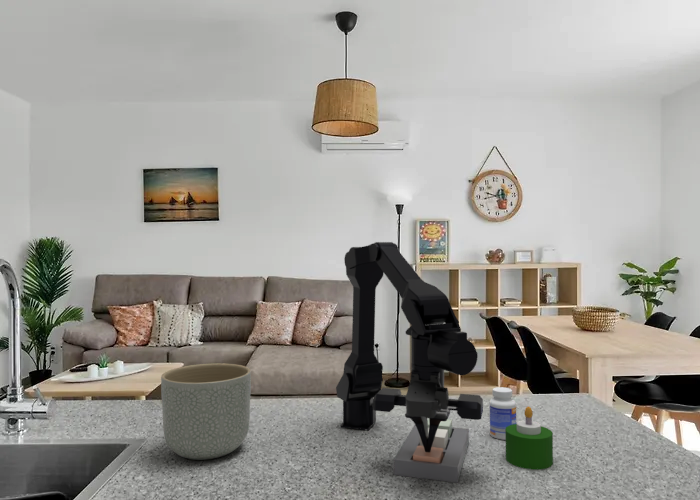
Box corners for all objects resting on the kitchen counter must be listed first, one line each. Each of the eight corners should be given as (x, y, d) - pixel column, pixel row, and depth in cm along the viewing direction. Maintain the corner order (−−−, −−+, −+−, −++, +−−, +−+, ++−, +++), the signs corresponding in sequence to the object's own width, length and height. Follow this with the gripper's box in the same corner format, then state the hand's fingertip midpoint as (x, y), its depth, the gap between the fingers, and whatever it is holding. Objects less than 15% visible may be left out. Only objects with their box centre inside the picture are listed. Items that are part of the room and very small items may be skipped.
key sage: (425, 436, 106) (425, 424, 106) (429, 428, 110) (429, 417, 110) (449, 438, 104) (449, 426, 104) (452, 431, 108) (452, 419, 108)
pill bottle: (517, 441, 109) (517, 393, 109) (490, 439, 110) (490, 392, 110) (515, 432, 114) (514, 386, 114) (488, 430, 115) (488, 385, 115)
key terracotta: (413, 468, 93) (412, 454, 93) (417, 458, 98) (417, 445, 98) (439, 471, 92) (439, 457, 92) (443, 461, 96) (443, 448, 96)
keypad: (393, 474, 93) (393, 459, 93) (415, 436, 112) (415, 423, 112) (457, 482, 90) (457, 467, 90) (468, 441, 109) (468, 428, 109)
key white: (419, 448, 99) (419, 435, 99) (424, 439, 104) (423, 427, 104) (444, 450, 98) (444, 437, 98) (447, 442, 102) (447, 429, 102)
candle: (529, 473, 93) (529, 416, 93) (496, 457, 101) (495, 404, 101) (562, 464, 97) (562, 409, 97) (528, 449, 105) (528, 398, 105)
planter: (266, 440, 110) (265, 366, 110) (220, 473, 94) (220, 386, 94) (196, 431, 116) (195, 361, 116) (142, 461, 100) (141, 379, 100)
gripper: (364, 369, 90) (364, 462, 90) (478, 377, 84) (478, 476, 84) (380, 357, 100) (381, 440, 100) (483, 362, 95) (483, 451, 95)
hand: (428, 451), depth 95 cm, fingers closed, pressing on key terracotta
